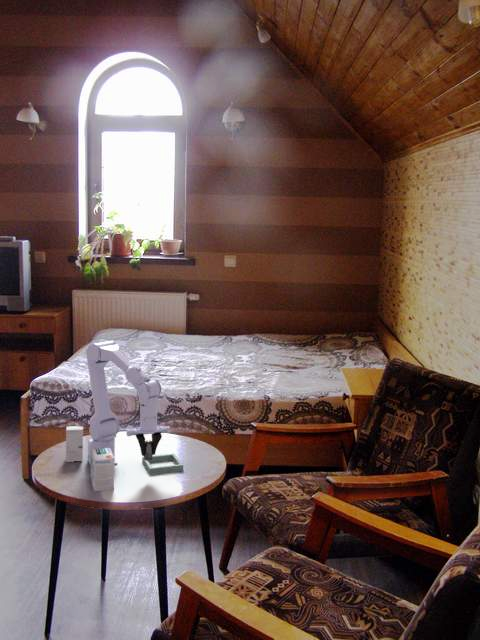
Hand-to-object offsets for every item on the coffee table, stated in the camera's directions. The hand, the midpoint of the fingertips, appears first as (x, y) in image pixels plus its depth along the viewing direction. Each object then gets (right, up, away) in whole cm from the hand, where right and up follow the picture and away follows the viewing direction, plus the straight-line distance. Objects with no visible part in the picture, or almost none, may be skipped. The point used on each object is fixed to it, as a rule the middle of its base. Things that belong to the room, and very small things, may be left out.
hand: (148, 454), depth 224 cm
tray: (+3, -7, +12) cm, 14 cm away
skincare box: (-29, -5, +16) cm, 33 cm away
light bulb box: (-15, -9, -5) cm, 18 cm away
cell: (0, -2, 0) cm, 2 cm away
